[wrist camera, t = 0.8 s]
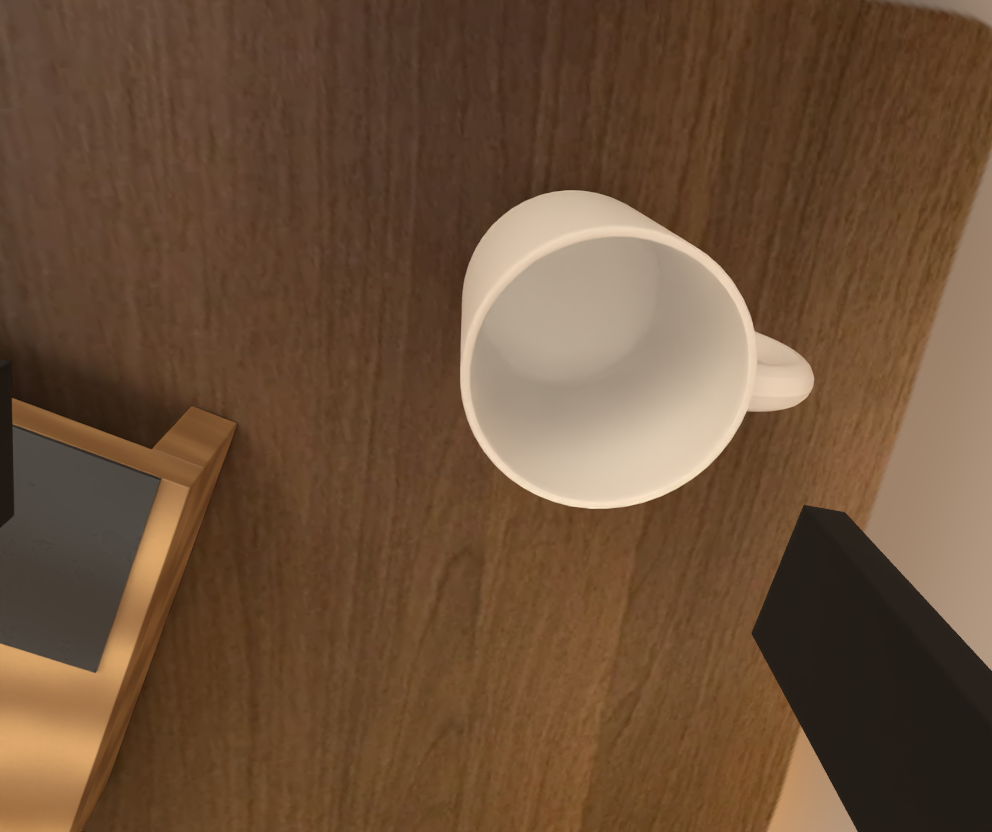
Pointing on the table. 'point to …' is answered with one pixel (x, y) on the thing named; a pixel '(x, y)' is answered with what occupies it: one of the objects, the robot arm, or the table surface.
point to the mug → (608, 353)
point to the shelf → (88, 597)
